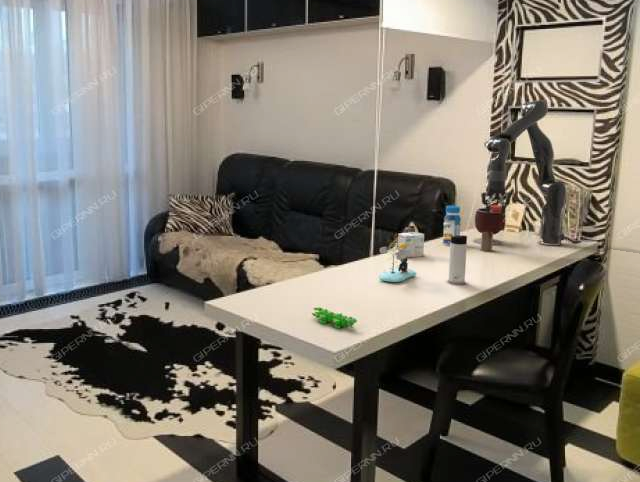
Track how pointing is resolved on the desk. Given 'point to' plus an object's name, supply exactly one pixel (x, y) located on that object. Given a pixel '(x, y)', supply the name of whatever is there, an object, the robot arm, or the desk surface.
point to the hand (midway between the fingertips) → (495, 213)
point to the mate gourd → (488, 222)
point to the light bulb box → (412, 243)
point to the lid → (495, 207)
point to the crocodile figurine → (334, 318)
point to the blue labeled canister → (451, 223)
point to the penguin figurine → (400, 272)
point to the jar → (487, 241)
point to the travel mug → (457, 259)
